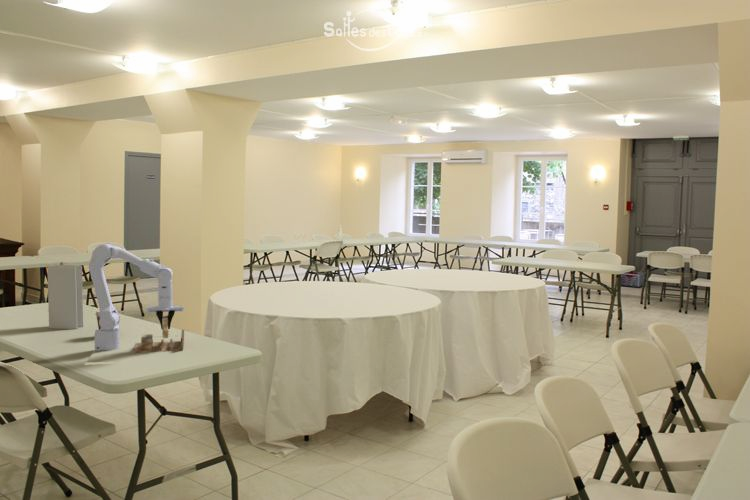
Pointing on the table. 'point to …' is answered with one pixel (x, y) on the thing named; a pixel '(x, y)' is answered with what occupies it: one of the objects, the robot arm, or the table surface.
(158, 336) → the slate mat
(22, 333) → the table surface
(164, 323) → the plywood sheet
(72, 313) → the tall grey upright box
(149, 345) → the block
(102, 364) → the table surface
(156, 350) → the walnut rack
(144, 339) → the upper offcut
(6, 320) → the table surface
